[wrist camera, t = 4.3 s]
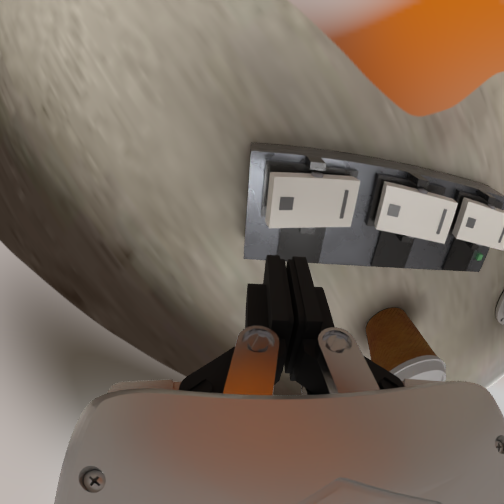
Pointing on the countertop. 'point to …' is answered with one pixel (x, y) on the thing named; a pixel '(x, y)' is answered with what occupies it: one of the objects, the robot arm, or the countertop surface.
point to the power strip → (358, 213)
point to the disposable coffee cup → (402, 347)
